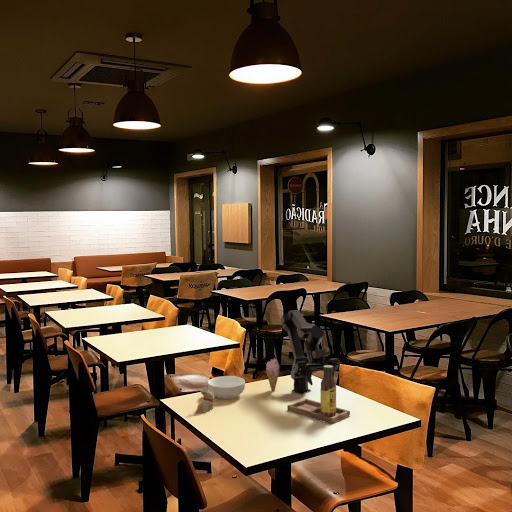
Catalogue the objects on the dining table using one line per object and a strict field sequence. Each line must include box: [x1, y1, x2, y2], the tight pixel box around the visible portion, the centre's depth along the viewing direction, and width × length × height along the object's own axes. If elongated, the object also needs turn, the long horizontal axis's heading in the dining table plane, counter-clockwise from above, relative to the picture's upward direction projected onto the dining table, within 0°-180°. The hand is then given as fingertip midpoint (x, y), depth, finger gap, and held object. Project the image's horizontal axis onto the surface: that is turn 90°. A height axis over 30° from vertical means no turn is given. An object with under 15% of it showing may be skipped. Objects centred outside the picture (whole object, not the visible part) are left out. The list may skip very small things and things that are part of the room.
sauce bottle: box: [320, 365, 337, 417], centre depth 227 cm, size 6×6×20 cm
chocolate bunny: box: [196, 386, 215, 413], centre depth 237 cm, size 6×8×10 cm
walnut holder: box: [286, 398, 351, 425], centre depth 231 cm, size 12×23×2 cm, turn 44°
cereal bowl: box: [207, 375, 246, 400], centre depth 255 cm, size 17×17×7 cm
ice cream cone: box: [265, 357, 281, 392], centre depth 261 cm, size 7×6×15 cm
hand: (322, 383), depth 233 cm, fingers open, 9 cm apart
